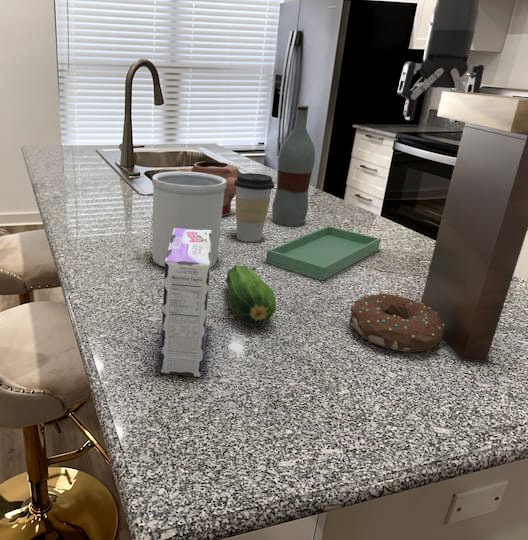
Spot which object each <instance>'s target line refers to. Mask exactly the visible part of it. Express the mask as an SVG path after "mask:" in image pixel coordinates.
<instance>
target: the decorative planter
mask: <svg viewBox="0 0 528 540" xmlns="http://www.w3.org/2000/svg"><path fill="white" fill-rule="evenodd" d="M177 171H186V172H198V173H206V174H211V175H216V176H220V177H222V178H224V179H226V181H227V183H226V188H225V190H224V201H223V210H222V217H223V216H227V215H229V214H230V213H231V208H232V202H233V199H234V198H235V197H236V186H235V185H234V182H235V179H237V177H238V175H239V174H241V172H240V169H239V167H238V166H236V165H234V164H230V163H228V162H219V161H208V160H207V161H206V160H205V161H204V160H203V161H198V162H196V163H194V164H193V166H192V168H181V169H178V170H177Z"/></svg>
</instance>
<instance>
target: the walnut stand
mask: <svg viewBox="0 0 528 540" xmlns="http://www.w3.org/2000/svg"><path fill="white" fill-rule="evenodd" d="M527 233H528V133H517V132H507V131H503V130H498V129H494V128H489V127H484V126H480V125H475V124H471V123H466V122H464V126H463V130H462V135H461V138H460V141H459V146H458V150H457V155H456V159H455V161H454V167H453V171H452V175H451V179H450V183H449V186H448V191H447V195H446V199H445V203H444V207H443V211H442V215H441V219H440V223H439V227H438V232H437V236H436V239H435V242H434V243H435V245H434V247H433V252H432V256H431V259H430V264H429V267H428V272H427V276H426V279H425V285H424V289H423V293H422V296H421V300H420V303H423V305H426V306H427V307H430V308H431V309H432V310H433V311H435V312H437V314H438V315H439V317H440V319H441V320H442V322H443V324H444V328H445V330H444V333H443V337H442V340H443V341H445V343H446V344H447V345H448V346H449V347H450V349H452V350H453V351H454V353H456V355H457V356H458V357H459V359H461V360H462V361H474V362H487V360H488V357H489V353H490V351H491V347H492V345H493V344H492V343H493V341H494V338H495V334H496V332H497V328H498V325H499V321H500V318H501V316H502V312H503V310H504V306H505V304H506V300H507V297H508V294H509V291H510V287H511V285H512V281H513V277H514V274H515V271H516V267H517V265H518V261H519V258H520V255H521V252H522V249H523V245H524V242H525V239H526V236H527Z"/></svg>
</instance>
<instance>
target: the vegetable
mask: <svg viewBox="0 0 528 540" xmlns="http://www.w3.org/2000/svg"><path fill="white" fill-rule="evenodd" d="M226 274H227V276H226V279H225V282H226V285H227V299H228V304H229V306H230V309H231V311H232V314H233V316H234V317H235V318H236V320H238V321H239V322H241V323H242V324H245V325H248V326H251V327H252V326H261V325H262V324H264V323H266V322H267V321H270V319H271V318H272V316H273V315H274V314H275V312H276V310H277V306H276V305H277V303H276V297H275V293H274V291H273V289H272V288H271V287H270V285H268V284H267V283H266V282H265V281H264V280H263V279H262V278H261V276H259V275H258V274H257V273H256V272H255V271H253V270H251V269H250V268H249V267H248V266H247V265H237V264H235V265H234V266H232V268H230V269H228V270H227V273H226Z"/></svg>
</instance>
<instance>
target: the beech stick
mask: <svg viewBox="0 0 528 540" xmlns="http://www.w3.org/2000/svg"><path fill="white" fill-rule="evenodd" d="M436 116H437V117H439V118H443V119H448V120H449V119H452V120H457V121H458V122H460V123H461V122H462V123H465V122H466V123H471V124H475V125H480V126H484V127H489V128H494V129H498V130H503V131H507V132H517V133H528V97H521V96H513V95H512V96H510V95H500V94H491V93H482V92H479V93H473V92H455V91H450V90H442V91H441V97H440V100H439V105H438V110H437V113H436Z"/></svg>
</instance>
